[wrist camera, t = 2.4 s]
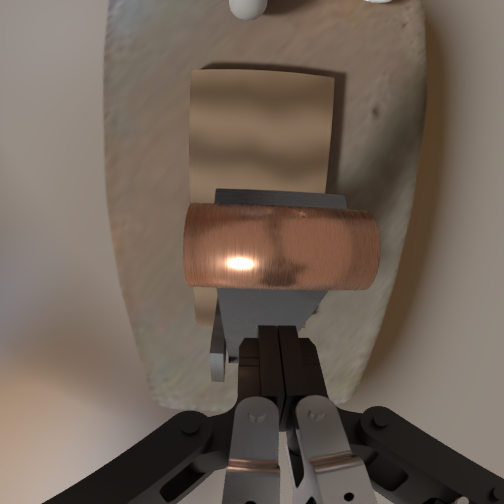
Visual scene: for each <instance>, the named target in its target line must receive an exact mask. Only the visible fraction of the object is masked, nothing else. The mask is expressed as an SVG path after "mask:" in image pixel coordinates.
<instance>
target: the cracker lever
mask: <svg viewBox="0 0 504 504" xmlns="http://www.w3.org/2000/svg"><path fill="white" fill-rule="evenodd" d="M379 260H380V235H379V230H378V226H377V223H376V220H375V218H374V216H373V215H372V214H371V213H370V212H369V211H362V210H349V209H347V204H346V199H345V195H338V194H324V193H310V192H294V191H275V190H252V189H218V188H216V191H215V200H214V203H191V204H190V205H189V208H188V211H187V215H186V220H185V228H184V240H183V263H184V273H185V279H186V283H187V285H188V286H189V287H210V288H217V294H218V300H219V306H220V312H221V318H222V324H223V329H224V335H225V340H226V346H227V351H228V357H229V363H239V346H240V344H241V343H242V341H243V339H244V338H257V329H258V325H276V326H277V325H295V326H296V328H297V333H298V332H299V331H300V329H301V328H302V327H303V325H304V324H305V323H306V321H307V320H308V319H309V317H310V316H311V314H312V313H313V312H314V310H315V309H316V307H317V306H318V305H319V303H320V302H321V300H322V299H323V298H324V296H325V295H326V293H327V292H328V290H366V289H368V288H369V287H370V286H371V285H372V283H373V281H374V279H375V277H376V274H377V271H378V266H379Z"/></svg>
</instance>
